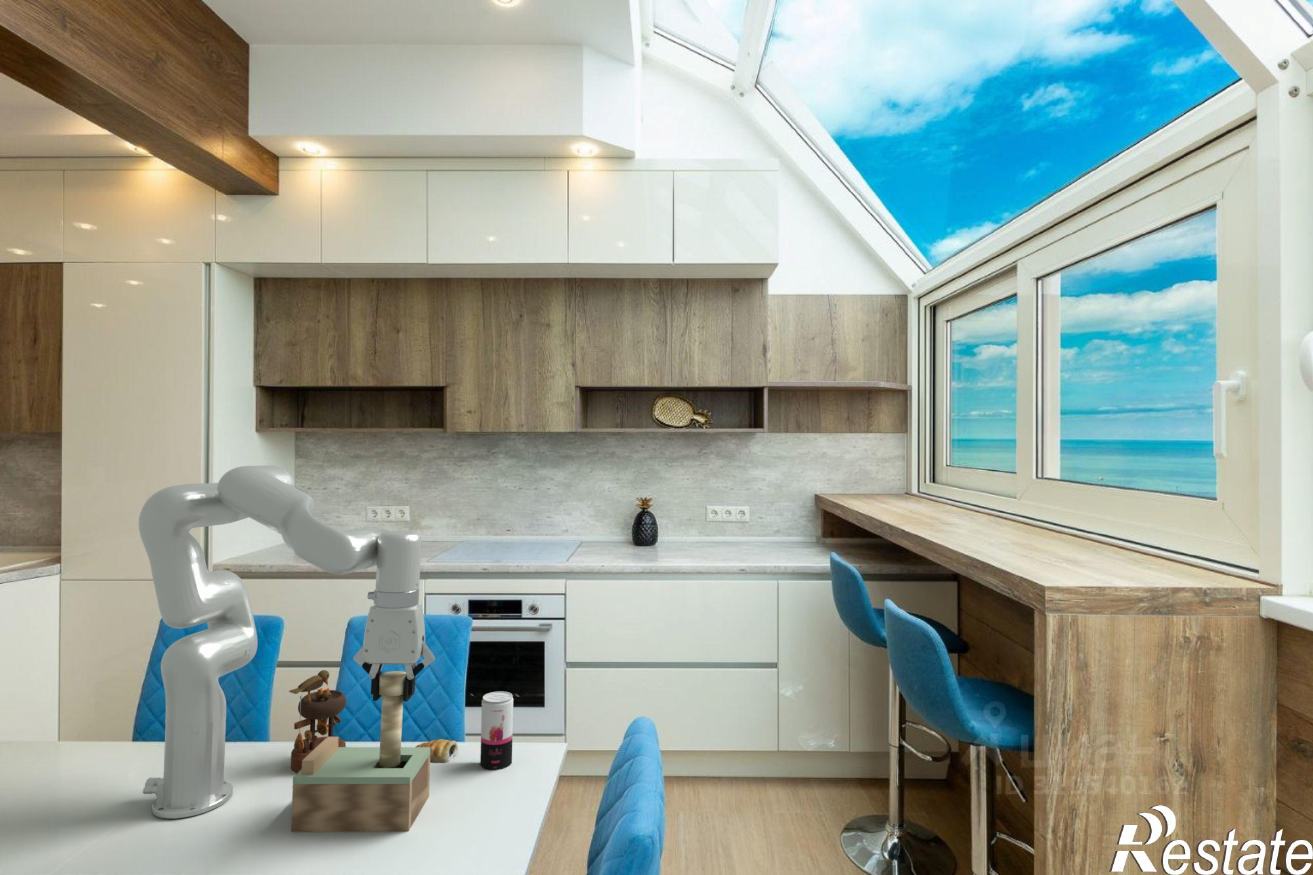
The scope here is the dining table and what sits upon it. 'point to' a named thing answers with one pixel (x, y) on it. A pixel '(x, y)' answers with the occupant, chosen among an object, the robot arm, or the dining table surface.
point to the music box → (316, 716)
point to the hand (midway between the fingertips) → (392, 697)
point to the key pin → (391, 717)
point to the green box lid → (357, 765)
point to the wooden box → (360, 805)
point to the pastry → (441, 750)
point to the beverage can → (496, 730)
